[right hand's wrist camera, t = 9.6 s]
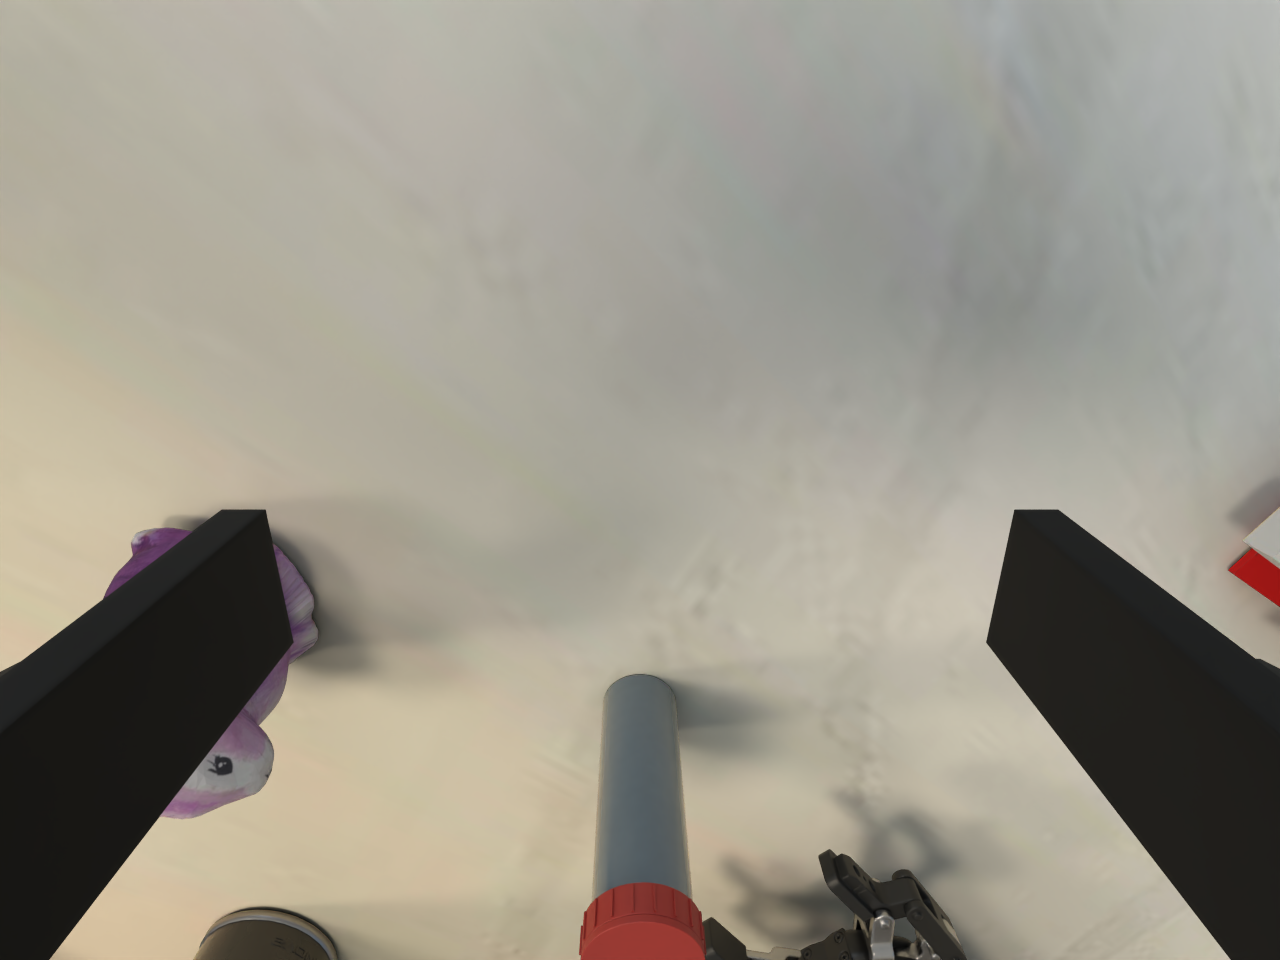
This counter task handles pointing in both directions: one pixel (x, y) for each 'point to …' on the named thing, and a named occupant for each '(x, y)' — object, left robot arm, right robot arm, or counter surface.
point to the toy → (1262, 559)
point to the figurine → (244, 745)
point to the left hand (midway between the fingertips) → (765, 900)
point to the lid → (642, 925)
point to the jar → (640, 790)
